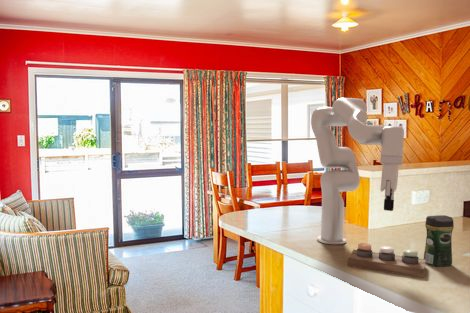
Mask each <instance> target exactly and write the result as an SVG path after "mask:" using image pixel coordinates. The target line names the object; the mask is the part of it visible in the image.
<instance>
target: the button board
mask: <svg viewBox="0 0 470 313" xmlns="http://www.w3.org/2000/svg"><path fill="white" fill-rule="evenodd" d="M347 267H353V268H360V269H366V270H372V271H377V272H386V273H390V274H391V273H392V274H399V275H404V276H405V275H406V276H412V277H416V278H417V277H418V278H425V270H426V263H425V259H424V258H419V256H415V257H412V256H406V255H404V254H402V255H396V254H395V252H394V253H383V252H381V251H379V252H375V251H373V250H372V249H371V250H361V249H359V248H358V247H357V249H352V251H351V253H350V254H349V256H348V257H347Z"/></svg>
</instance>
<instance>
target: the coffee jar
mask: <svg viewBox="0 0 470 313" xmlns="http://www.w3.org/2000/svg"><path fill="white" fill-rule="evenodd" d="M454 224H455V223H454V219H453V217H452V216H449V215H445V214H443V215H441V214H440V215H439V214H438V215H437V214H436V215H427V216H426V218H425V224H424V225H425V228H426V239H425V246H424V253H423V259H425V264H426V265H429V266H433V267H446V266H452V264H453V252H452V251H453V250H452V248H453V246H452V234H453V231H454V228H455V227H454Z"/></svg>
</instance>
